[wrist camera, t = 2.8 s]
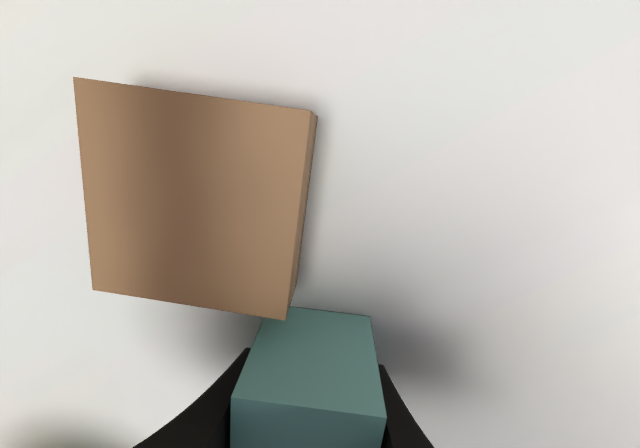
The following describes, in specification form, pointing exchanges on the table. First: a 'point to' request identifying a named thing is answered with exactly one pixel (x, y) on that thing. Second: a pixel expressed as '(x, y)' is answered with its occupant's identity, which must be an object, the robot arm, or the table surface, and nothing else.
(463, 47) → the table surface
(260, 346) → the teal cube
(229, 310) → the walnut slab
